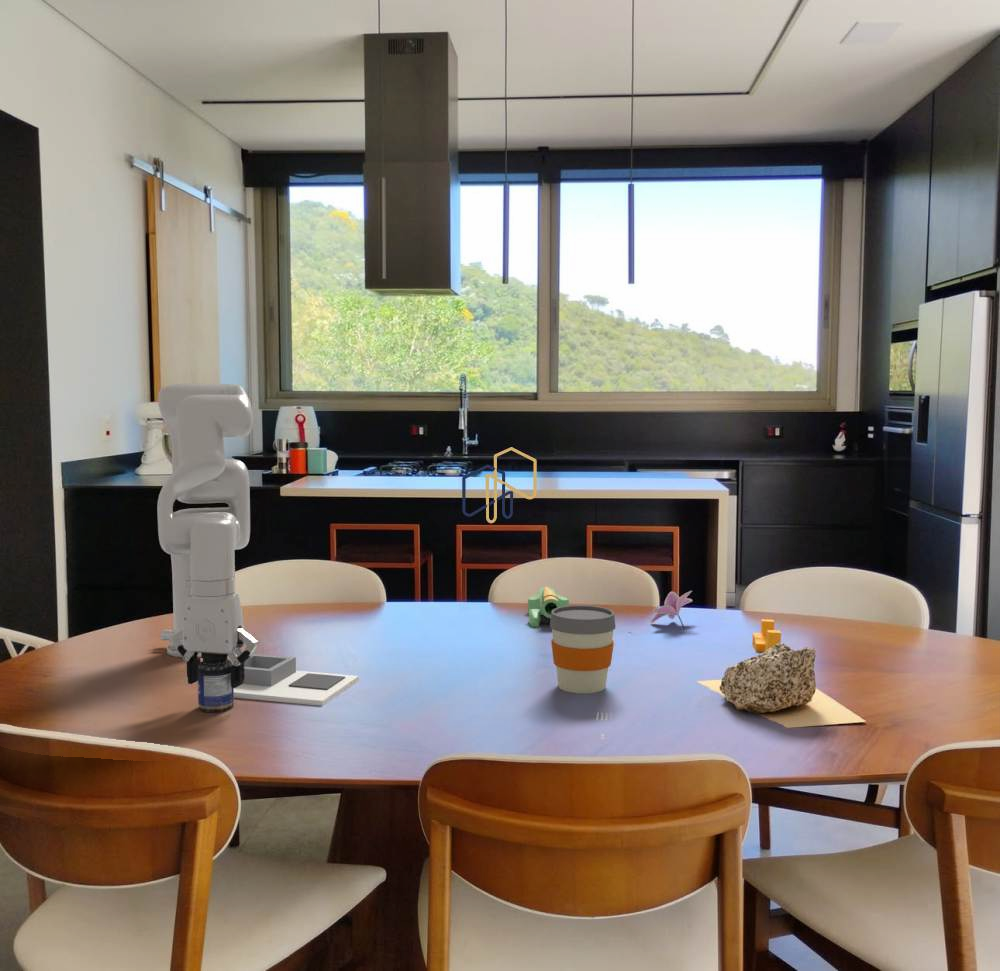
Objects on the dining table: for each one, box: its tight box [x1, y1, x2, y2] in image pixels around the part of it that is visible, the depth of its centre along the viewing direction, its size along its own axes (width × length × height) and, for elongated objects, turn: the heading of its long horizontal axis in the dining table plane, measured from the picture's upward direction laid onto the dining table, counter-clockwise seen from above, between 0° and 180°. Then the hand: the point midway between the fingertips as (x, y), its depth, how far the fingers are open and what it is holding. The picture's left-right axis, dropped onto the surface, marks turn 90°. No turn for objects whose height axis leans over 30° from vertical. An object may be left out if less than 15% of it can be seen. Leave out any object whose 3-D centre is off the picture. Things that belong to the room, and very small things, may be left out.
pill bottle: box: [197, 653, 235, 714], centre depth 171 cm, size 6×6×11 cm
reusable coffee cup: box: [549, 604, 616, 694], centre depth 183 cm, size 13×13×15 cm
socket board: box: [232, 653, 360, 707], centre depth 183 cm, size 24×16×4 cm, turn 75°
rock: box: [696, 642, 867, 729], centre depth 174 cm, size 28×22×16 cm
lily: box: [650, 590, 693, 629], centre depth 232 cm, size 12×12×10 cm
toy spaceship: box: [527, 585, 570, 628], centre depth 248 cm, size 32×10×7 cm, turn 0°
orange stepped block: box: [751, 618, 782, 653], centre depth 209 cm, size 12×4×6 cm, turn 172°
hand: (215, 683), depth 171 cm, fingers open, 8 cm apart
